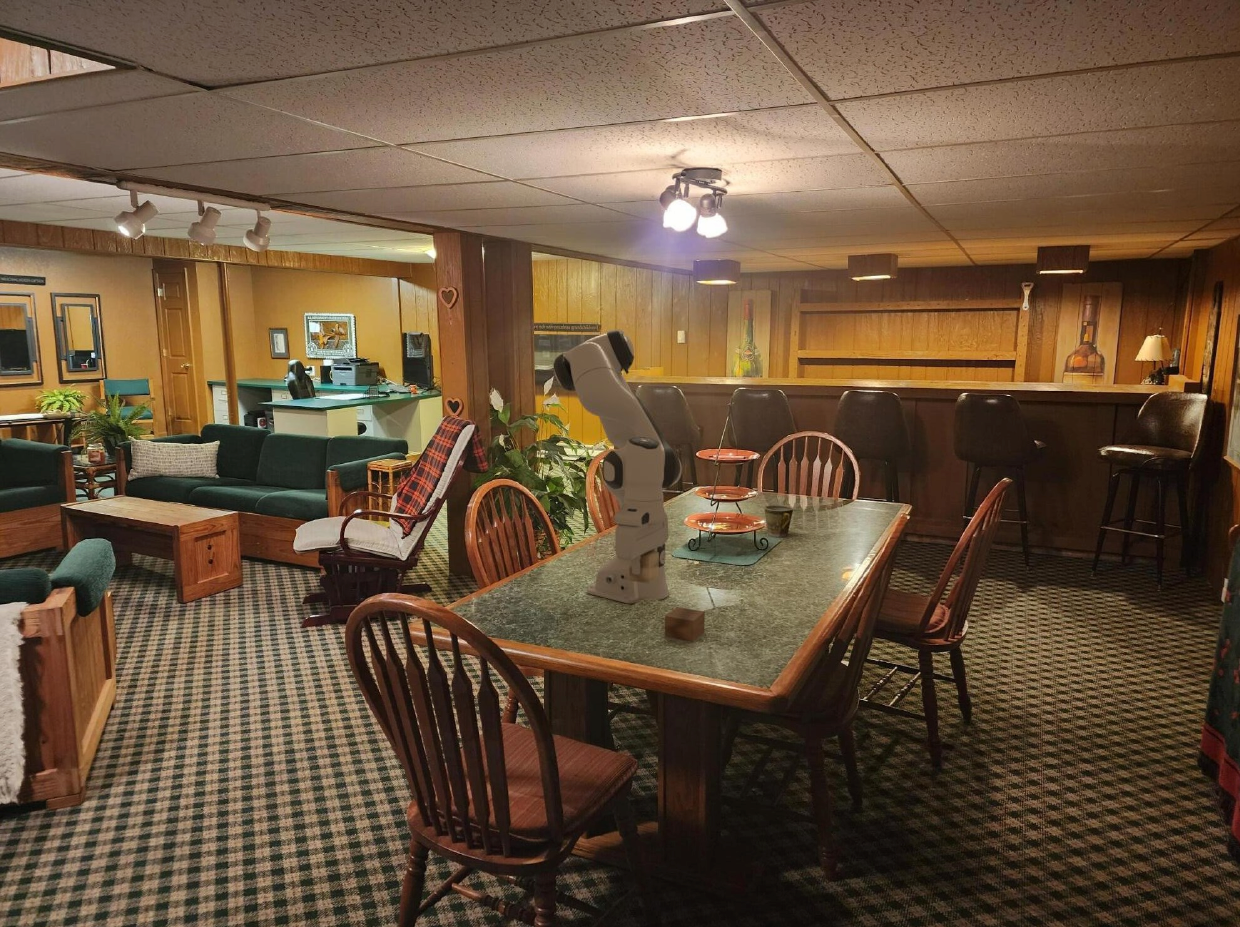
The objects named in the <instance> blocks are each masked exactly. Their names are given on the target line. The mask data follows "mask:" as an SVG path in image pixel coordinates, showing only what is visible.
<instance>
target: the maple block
mask: <svg viewBox="0 0 1240 927" xmlns="http://www.w3.org/2000/svg"><path fill="white" fill-rule="evenodd" d="M639 561H640V565H641V566H642V572H641V573H640V574H638V575H637V574H633V573H632V565H631V563H630V560H629V581H636V582H642V583H651V582H652V581H654V580H656V579H657V578H659V552H653V551H648V552H646V553H644V554H642V555H641V559H640V560H639Z"/></svg>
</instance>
